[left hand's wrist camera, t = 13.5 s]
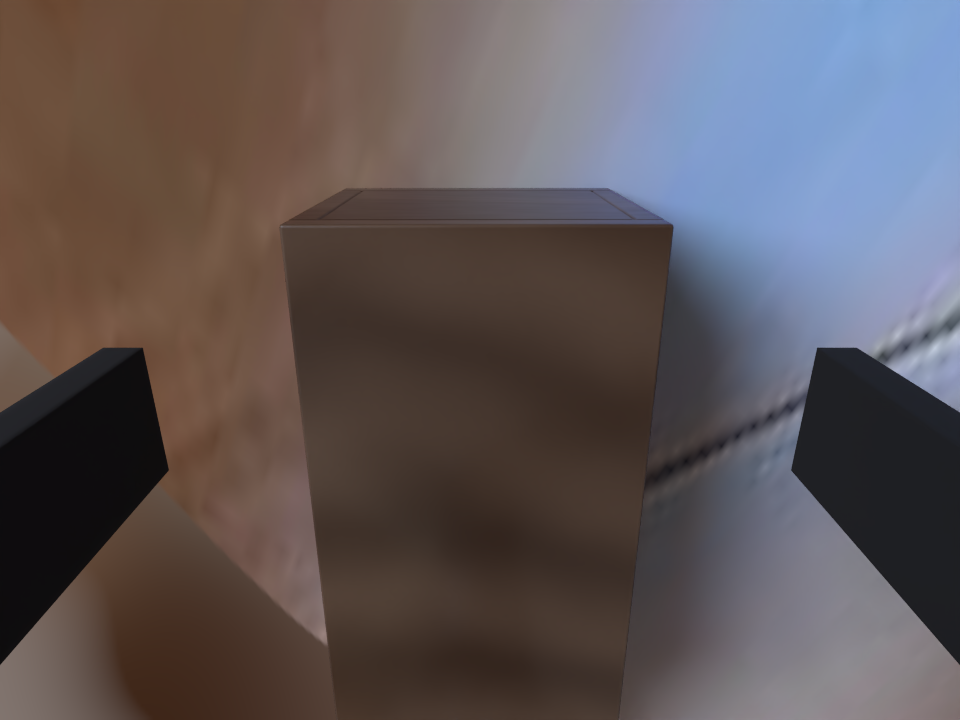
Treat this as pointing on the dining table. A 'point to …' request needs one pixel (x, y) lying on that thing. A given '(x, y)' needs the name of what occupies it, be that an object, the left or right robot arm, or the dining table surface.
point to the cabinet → (477, 442)
